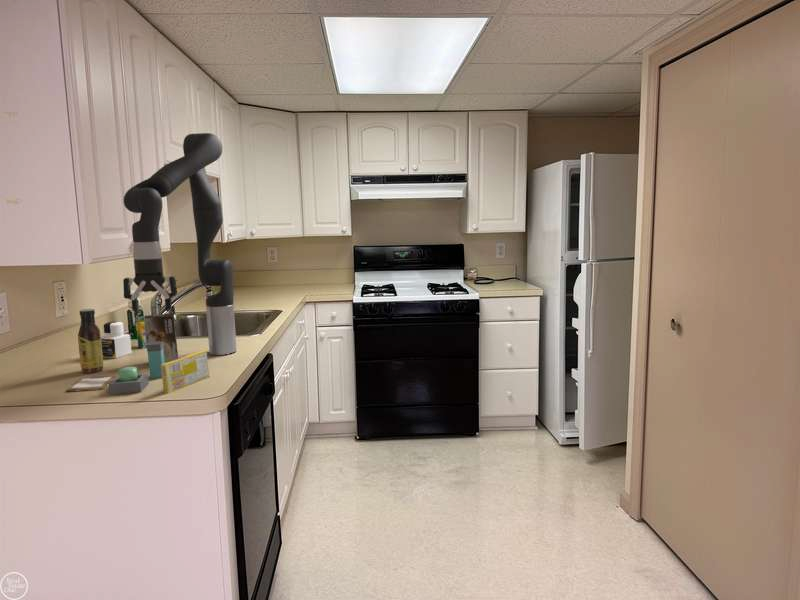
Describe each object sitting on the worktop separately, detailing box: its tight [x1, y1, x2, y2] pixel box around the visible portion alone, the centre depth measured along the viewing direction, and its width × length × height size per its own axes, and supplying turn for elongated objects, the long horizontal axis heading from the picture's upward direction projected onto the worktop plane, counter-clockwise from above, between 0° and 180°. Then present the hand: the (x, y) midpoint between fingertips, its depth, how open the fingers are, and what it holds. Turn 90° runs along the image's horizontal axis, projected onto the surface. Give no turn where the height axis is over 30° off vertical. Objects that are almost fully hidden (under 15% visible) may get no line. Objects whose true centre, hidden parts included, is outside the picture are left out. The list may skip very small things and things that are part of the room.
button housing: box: [108, 373, 150, 395], centre depth 148 cm, size 8×8×3 cm
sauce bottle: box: [77, 308, 104, 374], centre depth 165 cm, size 6×6×20 cm
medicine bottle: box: [101, 321, 133, 359], centre depth 185 cm, size 7×7×12 cm
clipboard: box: [65, 375, 117, 392], centre depth 152 cm, size 11×10×1 cm
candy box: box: [161, 350, 210, 394], centre depth 151 cm, size 16×2×8 cm, turn 159°
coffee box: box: [143, 313, 179, 363], centre depth 174 cm, size 9×6×16 cm
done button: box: [118, 366, 139, 382], centre depth 147 cm, size 5×5×4 cm
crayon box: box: [135, 315, 147, 349], centre depth 199 cm, size 7×3×12 cm, turn 150°
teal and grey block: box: [146, 341, 165, 380], centre depth 159 cm, size 4×4×10 cm
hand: (152, 311), depth 156 cm, fingers open, 8 cm apart
